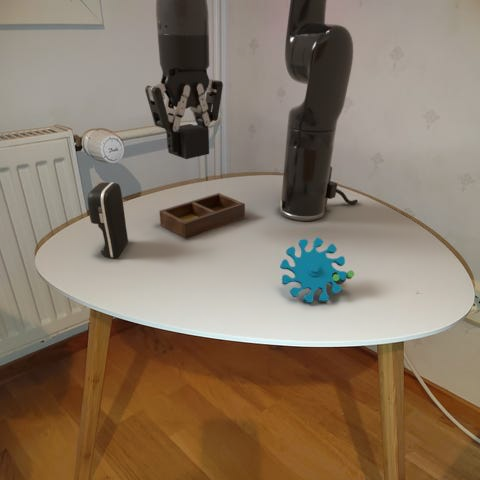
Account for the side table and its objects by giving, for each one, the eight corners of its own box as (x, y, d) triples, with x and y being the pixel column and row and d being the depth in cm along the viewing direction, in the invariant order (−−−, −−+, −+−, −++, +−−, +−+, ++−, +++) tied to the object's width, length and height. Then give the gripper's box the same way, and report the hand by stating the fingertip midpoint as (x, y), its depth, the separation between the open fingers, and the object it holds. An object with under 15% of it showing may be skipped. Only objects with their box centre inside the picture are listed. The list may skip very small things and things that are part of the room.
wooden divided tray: (160, 225, 83) (159, 210, 81) (219, 206, 92) (218, 192, 90) (185, 239, 78) (184, 223, 77) (244, 218, 87) (245, 203, 85)
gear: (275, 294, 61) (287, 229, 62) (271, 301, 67) (282, 242, 68) (349, 309, 61) (360, 244, 62) (338, 315, 67) (348, 256, 68)
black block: (191, 148, 75) (190, 123, 72) (209, 154, 72) (208, 129, 69) (168, 152, 72) (166, 127, 69) (186, 159, 69) (185, 133, 67)
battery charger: (109, 240, 77) (98, 178, 70) (129, 241, 77) (120, 179, 70) (95, 258, 72) (81, 192, 65) (116, 259, 71) (105, 194, 65)
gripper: (157, 33, 55) (167, 164, 65) (236, 31, 63) (234, 149, 74) (126, 30, 60) (141, 154, 70) (204, 29, 68) (206, 140, 78)
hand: (188, 151), depth 72 cm, fingers closed on black block, 5 cm apart
